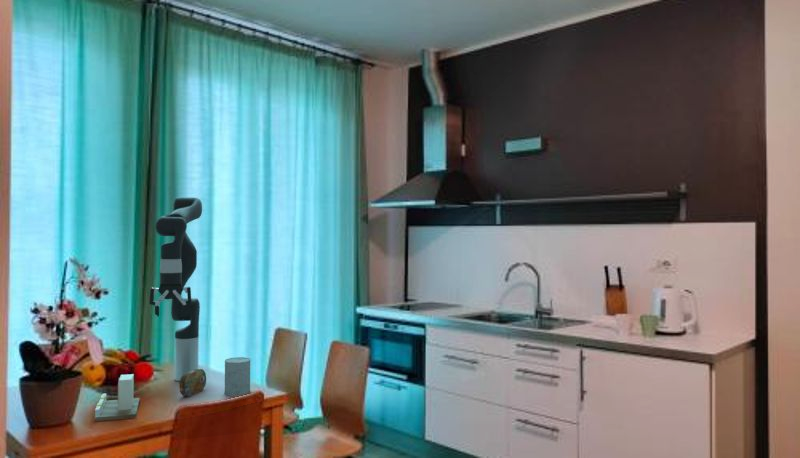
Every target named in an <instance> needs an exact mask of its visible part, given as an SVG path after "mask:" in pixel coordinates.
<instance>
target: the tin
mask: <svg viewBox="0 0 800 458" xmlns="http://www.w3.org/2000/svg"><path fill="white" fill-rule="evenodd" d="M206 384H207V374H206V372H205V370H204V369H202V368H200V369H199V368H198V369H196V370H193V371H191V372H189V373H186V374H184V375H183V376H182V377H181V379H180V381H179V393H180V396H181V395H182V396H183V397H193V396H194V395H196V394H199V393H200V392H202V391H203V390H204V388H205V386H206Z"/></svg>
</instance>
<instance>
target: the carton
mask: <svg viewBox="0 0 800 458" xmlns="http://www.w3.org/2000/svg"><path fill="white" fill-rule="evenodd" d="M134 375H135V374H134V373H131V374H120V377H118V383H117V400H118V410H129V409H132V406H133V400H134V398H135V397H134V394H135V390H134V388H135V386H134V385H135V384H134V382H135V379H134V378H135V376H134Z"/></svg>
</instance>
